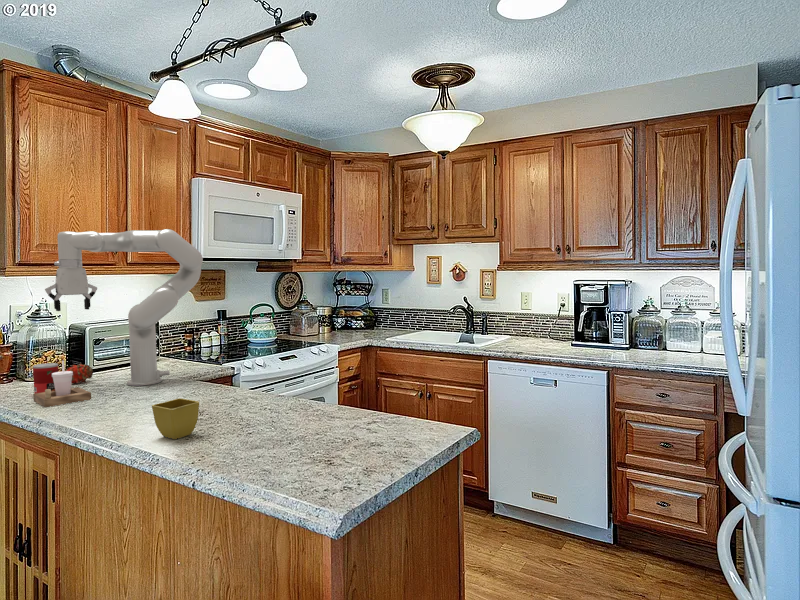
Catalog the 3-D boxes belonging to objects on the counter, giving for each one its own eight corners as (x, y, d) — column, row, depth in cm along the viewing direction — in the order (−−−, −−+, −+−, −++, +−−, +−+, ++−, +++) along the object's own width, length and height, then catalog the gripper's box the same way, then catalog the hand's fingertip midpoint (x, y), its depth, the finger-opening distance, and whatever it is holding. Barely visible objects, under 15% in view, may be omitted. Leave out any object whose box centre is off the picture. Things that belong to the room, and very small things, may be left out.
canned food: (50, 396, 195) (49, 366, 195) (29, 397, 195) (27, 366, 195) (64, 392, 203) (63, 362, 202) (43, 392, 203) (41, 363, 203)
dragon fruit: (97, 384, 223) (63, 393, 215) (90, 370, 227) (58, 379, 220) (96, 370, 218) (62, 378, 211) (90, 356, 223) (56, 364, 215)
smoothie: (62, 402, 186) (60, 362, 185) (48, 401, 188) (46, 361, 187) (78, 398, 192) (76, 359, 191) (65, 397, 194) (63, 358, 193)
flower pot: (172, 443, 140) (171, 408, 139) (152, 438, 145) (150, 404, 144) (201, 434, 147) (200, 401, 147) (180, 429, 152) (179, 398, 152)
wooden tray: (78, 393, 200) (77, 378, 199) (91, 399, 190) (90, 384, 190) (33, 400, 189) (32, 385, 189) (44, 407, 180) (43, 391, 179)
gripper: (46, 264, 196) (49, 312, 197) (99, 264, 208) (101, 309, 209) (41, 265, 201) (43, 311, 202) (92, 264, 213) (94, 308, 214)
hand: (72, 310), depth 205 cm, fingers open, 9 cm apart
